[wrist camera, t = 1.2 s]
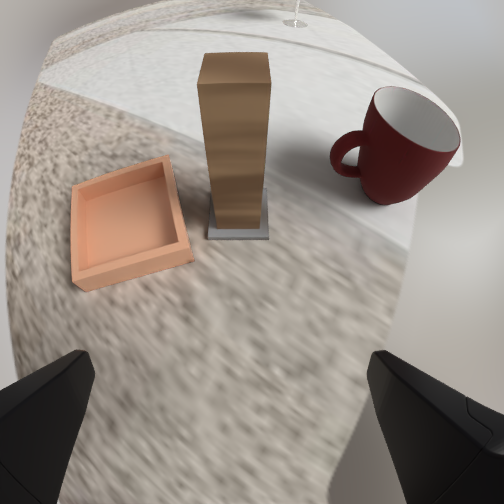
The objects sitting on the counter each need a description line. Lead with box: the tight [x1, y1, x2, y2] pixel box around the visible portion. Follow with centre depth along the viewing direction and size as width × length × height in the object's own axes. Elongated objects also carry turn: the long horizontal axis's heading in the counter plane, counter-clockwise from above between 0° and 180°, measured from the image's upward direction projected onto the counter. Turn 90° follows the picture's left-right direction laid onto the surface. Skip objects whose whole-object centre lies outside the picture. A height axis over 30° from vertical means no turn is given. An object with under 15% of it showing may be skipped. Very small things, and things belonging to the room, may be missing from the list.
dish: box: [71, 155, 194, 292], centre depth 25 cm, size 10×10×2 cm
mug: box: [330, 86, 460, 205], centre depth 23 cm, size 10×8×10 cm
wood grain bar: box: [197, 52, 271, 240], centre depth 20 cm, size 5×5×14 cm
